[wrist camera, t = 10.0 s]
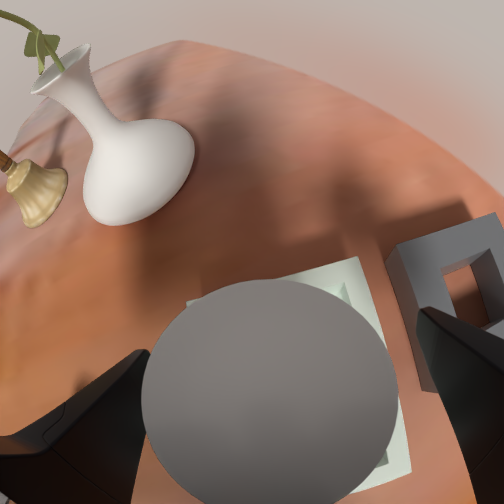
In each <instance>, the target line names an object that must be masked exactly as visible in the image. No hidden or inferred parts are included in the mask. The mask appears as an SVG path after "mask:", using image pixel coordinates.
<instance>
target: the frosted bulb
mask: <svg viewBox="0 0 504 504" xmlns="http://www.w3.org/2000/svg"><path fill="white" fill-rule="evenodd" d="M141 406H142V415H143V421H144V425H145V429H146V433H147V436H148V439H149V441H150V444H151V446H152V448H153V450H154V452H155V454H156V456H157V458H158V459H159V461H160V463H161V464H162V465H163V467H164V468H165V469H166V471H167V472H168V473H169V474H170V476H171V477H172V478H173V479H174V480H175V481H176V482H177V483H178V484H179V485H180V486H181V487H183V488H184V489H185V490H186V491H187V492H189V493H190V494H191V495H193V496H194V497H196V498H197V499H199V500H200V501H202V502H204V503H205V504H334V503H335V502H337V501H339V500H340V499H342V498H343V497H345V496H347V495H348V494H349V493H351V492H352V491H353V490H354V489H356V488H357V487H358V486H359V485H360V484H361V483H362V482H363V481H364V480H365V479H366V478H367V477H368V476H369V475H370V474H371V473H372V471H373V470H374V469H375V467H376V466H377V464H378V463H379V462H380V460H381V459H382V457H383V455H384V453H385V451H386V449H387V447H388V445H389V443H390V441H391V438H392V435H393V432H394V428H395V425H396V419H397V413H398V385H397V378H396V373H395V370H394V366H393V363H392V360H391V357H390V355H389V353H388V351H387V349H386V346H385V344H384V343H383V341H382V340H381V338H380V337H379V335H378V333H377V332H376V330H375V329H374V328H373V327H372V326H371V325H370V323H369V322H368V321H367V320H366V319H365V318H364V317H363V316H362V315H361V314H360V313H359V312H358V311H356V310H355V309H354V308H353V307H352V306H350V305H349V304H347V303H346V302H344V301H343V300H341V299H340V298H338V297H337V296H335V295H333V294H331V293H328V292H326V291H324V290H322V289H320V288H317V287H314V286H311V285H308V284H304V283H299V282H294V281H289V280H277V279H263V280H251V281H246V282H240V283H236V284H232V285H229V286H226V287H223V288H220V289H218V290H216V291H213V292H211V293H209V294H207V295H205V296H204V297H202V298H200V299H198V300H197V301H195V302H194V303H192V304H191V305H190V306H188V307H187V308H186V309H184V310H183V311H182V312H181V313H180V314H179V315H178V316H177V317H176V318H175V319H174V320H173V321H172V322H171V323H170V324H169V325H168V327H167V328H166V329H165V331H164V332H163V333H162V334H161V336H160V338H159V339H158V341H157V343H156V344H155V346H154V348H153V350H152V353H151V355H150V357H149V360H148V362H147V366H146V369H145V373H144V377H143V384H142V396H141Z"/></svg>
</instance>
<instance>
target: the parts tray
mask: <svg viewBox="0 0 504 504" xmlns="http://www.w3.org/2000/svg"><path fill="white" fill-rule="evenodd" d="M277 280H289V281H294V282H299V283H304V284H308V285H311V286H314V287H317V288H320V289H322V290H324V291H326V292H328V293H331V294H333V295H335V296H337V297H338V298H340V299H341V300H343V301H344V302H346V303H347V304H349V305H350V306H352V307H353V308H354V309H355V310H356V311H358V312H359V313H360V314H361V315H362V316H363V317H364V318H365V319H366V320H367V321H368V322H369V323H370V325H371V326H372V327H373V328H374V329H375V330H376V332H377V333H378V335H379V337H380V338H381V340H382V341H383V343H384V344H385V346H386V343H385V339H384V336H383V332H382V329H381V326H380V322H379V319H378V315H377V312H376V309H375V306H374V303H373V299H372V296H371V293H370V290H369V287H368V284H367V281H366V278H365V275H364V273H363V270H362V267H361V264H360V261H359V258H358V256H356V257H352V258H349V259H346V260H342V261H339V262H335V263H332V264H328V265H324V266H321V267H317V268H314V269H310V270H307V271H303V272H299V273H296V274H292V275H288V276H285V277H281V278H277ZM199 299H200V298H199ZM197 300H198V299H194V300H190V301H186V306H187V307H188V306H190V305H191V304H192V303H194V302H195V301H197ZM386 349H387V347H386ZM387 351H388V350H387ZM411 472H412V471H411V463H410V456H409V449H408V443H407V437H406V431H405V426H404V420H403V415H402V410H401V405H400V400H399V396H398V413H397V419H396V425H395V428H394V432H393V435H392V438H391V441H390V443H389V445H388V447H387V449H386V451H385V453H384V455H383V457H382V459H381V460H380V462H379V463H378V464H377V466H376V467H375V469H374V470H373V471H372V473H371V474H370V475H369V476H368V477H367V478H366V479H365V480H364V481H363V482H362V483H361V484H360V485H359V486H358V487H357V488H356V489H354V490H353V491H352V492H351V493H349V494H352V493H355V492H359V491H362V490H365V489H368V488H371V487H374V486H377V485H380V484H383V483H386V482H388V481H391V480H394V479H396V478H399V477H401V476H404V475H406V474H409V473H411Z"/></svg>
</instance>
